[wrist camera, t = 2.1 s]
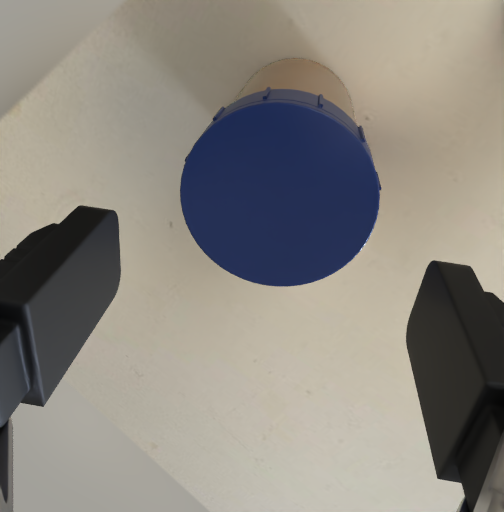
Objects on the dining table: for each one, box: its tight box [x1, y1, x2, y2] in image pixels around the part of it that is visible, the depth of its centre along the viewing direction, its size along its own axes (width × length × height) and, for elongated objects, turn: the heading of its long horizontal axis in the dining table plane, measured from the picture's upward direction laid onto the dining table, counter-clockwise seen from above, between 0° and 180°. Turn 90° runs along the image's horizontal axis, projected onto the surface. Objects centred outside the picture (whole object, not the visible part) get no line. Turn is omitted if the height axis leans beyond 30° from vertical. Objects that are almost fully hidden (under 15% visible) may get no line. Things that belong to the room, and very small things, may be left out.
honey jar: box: [234, 58, 357, 125], centre depth 17 cm, size 5×5×8 cm
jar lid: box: [180, 87, 381, 286], centre depth 14 cm, size 6×6×2 cm
